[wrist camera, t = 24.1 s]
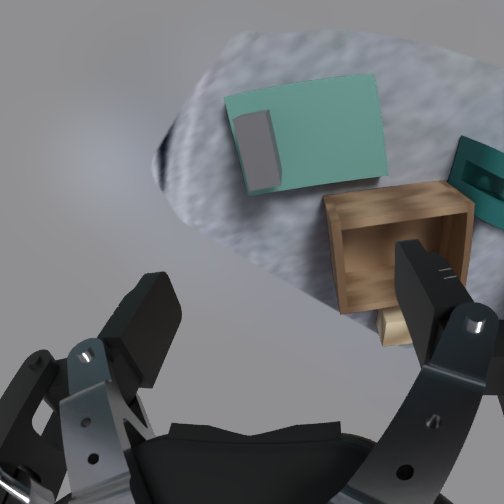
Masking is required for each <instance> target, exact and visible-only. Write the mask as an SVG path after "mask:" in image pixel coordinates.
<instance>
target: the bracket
mask: <svg viewBox="0 0 504 504" xmlns="http://www.w3.org/2000/svg"><path fill="white" fill-rule="evenodd" d="M448 183H449V184H450V185H451V186H453V187H454V188H455V189H457V190H458V191H459V192H461V193H462V194H463V195H465V196H466V197H467V198H469V199H470V200H471V201H473V202H474V203H475V206H474V215H475V216H477V217H478V218H480V219H482V220H484V221H485V222H487V223H489V224H491V225H493V226H495V227H498V228H500V229H503V230H504V153H502V152H500V151H498V150H496V149H494V148H492V147H489V146H487V145H485V144H482V143H480V142H477V141H475V140H472V139H470V138H467V137H465V136H462V135H461V139H460V143H459V146H458V150H457V154H456V157H455V161H454V164H453V167H452V171H451V174H450V177H449V180H448Z"/></svg>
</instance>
